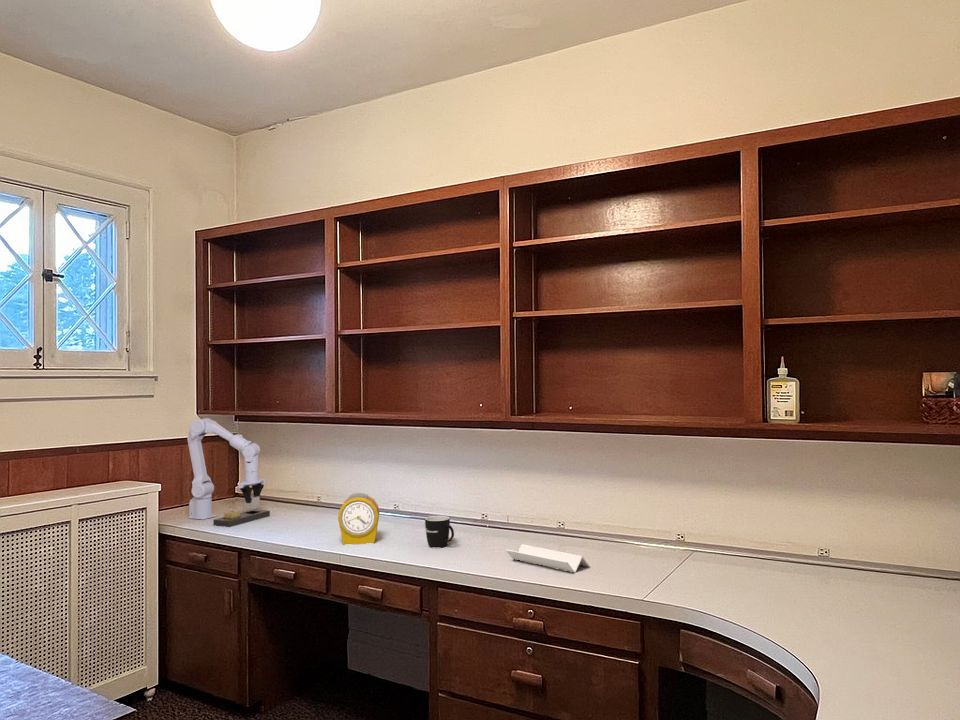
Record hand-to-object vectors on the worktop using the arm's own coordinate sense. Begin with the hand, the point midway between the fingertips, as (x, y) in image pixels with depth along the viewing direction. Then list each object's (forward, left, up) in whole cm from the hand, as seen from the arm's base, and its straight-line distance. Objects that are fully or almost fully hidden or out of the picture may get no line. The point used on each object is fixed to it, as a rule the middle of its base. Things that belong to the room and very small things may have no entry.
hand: (252, 501), depth 325 cm
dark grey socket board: (0, -6, -7) cm, 9 cm away
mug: (+103, -12, -7) cm, 104 cm away
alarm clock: (+71, -18, -7) cm, 74 cm away
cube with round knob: (0, 0, -3) cm, 3 cm away
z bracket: (+148, -19, -8) cm, 149 cm away
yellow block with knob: (0, -12, -7) cm, 14 cm away
